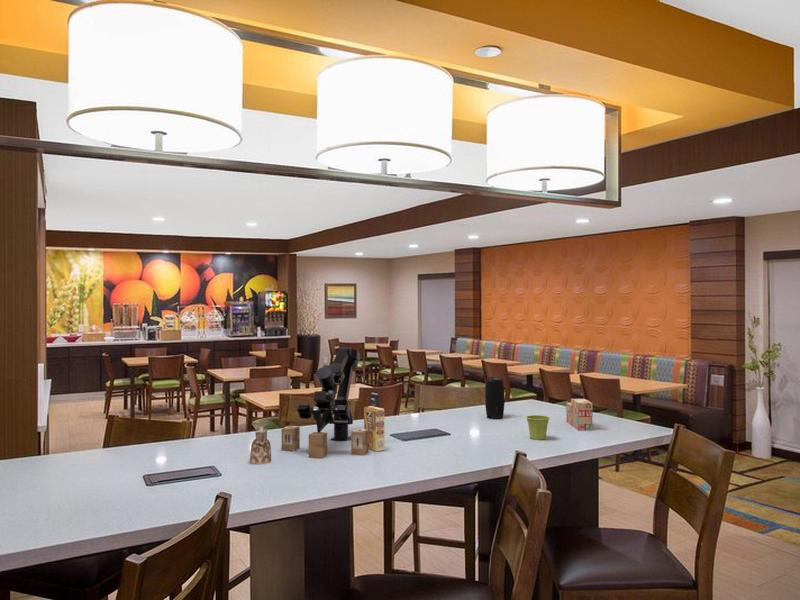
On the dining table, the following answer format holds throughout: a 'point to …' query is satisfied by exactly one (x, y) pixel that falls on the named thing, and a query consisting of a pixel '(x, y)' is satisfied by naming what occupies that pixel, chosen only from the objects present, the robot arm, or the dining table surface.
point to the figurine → (260, 447)
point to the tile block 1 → (290, 438)
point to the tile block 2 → (359, 442)
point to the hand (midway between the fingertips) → (318, 431)
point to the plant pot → (537, 426)
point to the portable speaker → (494, 397)
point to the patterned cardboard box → (580, 414)
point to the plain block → (317, 445)
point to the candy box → (375, 427)
